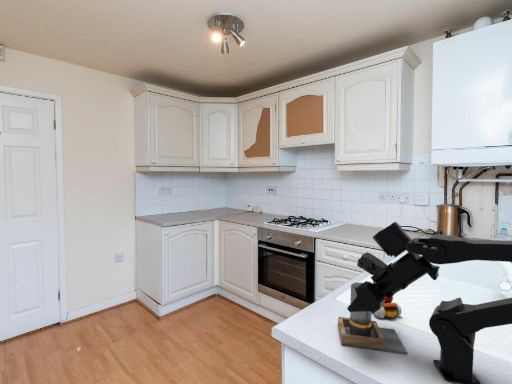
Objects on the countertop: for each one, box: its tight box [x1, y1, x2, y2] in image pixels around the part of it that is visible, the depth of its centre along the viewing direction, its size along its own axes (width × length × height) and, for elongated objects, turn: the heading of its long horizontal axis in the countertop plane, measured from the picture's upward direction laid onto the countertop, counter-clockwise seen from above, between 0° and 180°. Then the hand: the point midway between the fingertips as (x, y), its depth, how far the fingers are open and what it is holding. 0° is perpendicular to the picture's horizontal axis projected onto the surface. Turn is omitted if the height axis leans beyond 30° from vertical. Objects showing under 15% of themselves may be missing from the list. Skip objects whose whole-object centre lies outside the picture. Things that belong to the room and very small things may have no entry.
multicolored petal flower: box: [373, 295, 402, 319], centre depth 88 cm, size 8×10×7 cm
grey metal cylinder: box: [349, 282, 373, 337], centre depth 73 cm, size 5×5×13 cm
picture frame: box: [337, 316, 408, 355], centre depth 73 cm, size 11×15×2 cm
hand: (355, 304), depth 74 cm, fingers open, 9 cm apart
